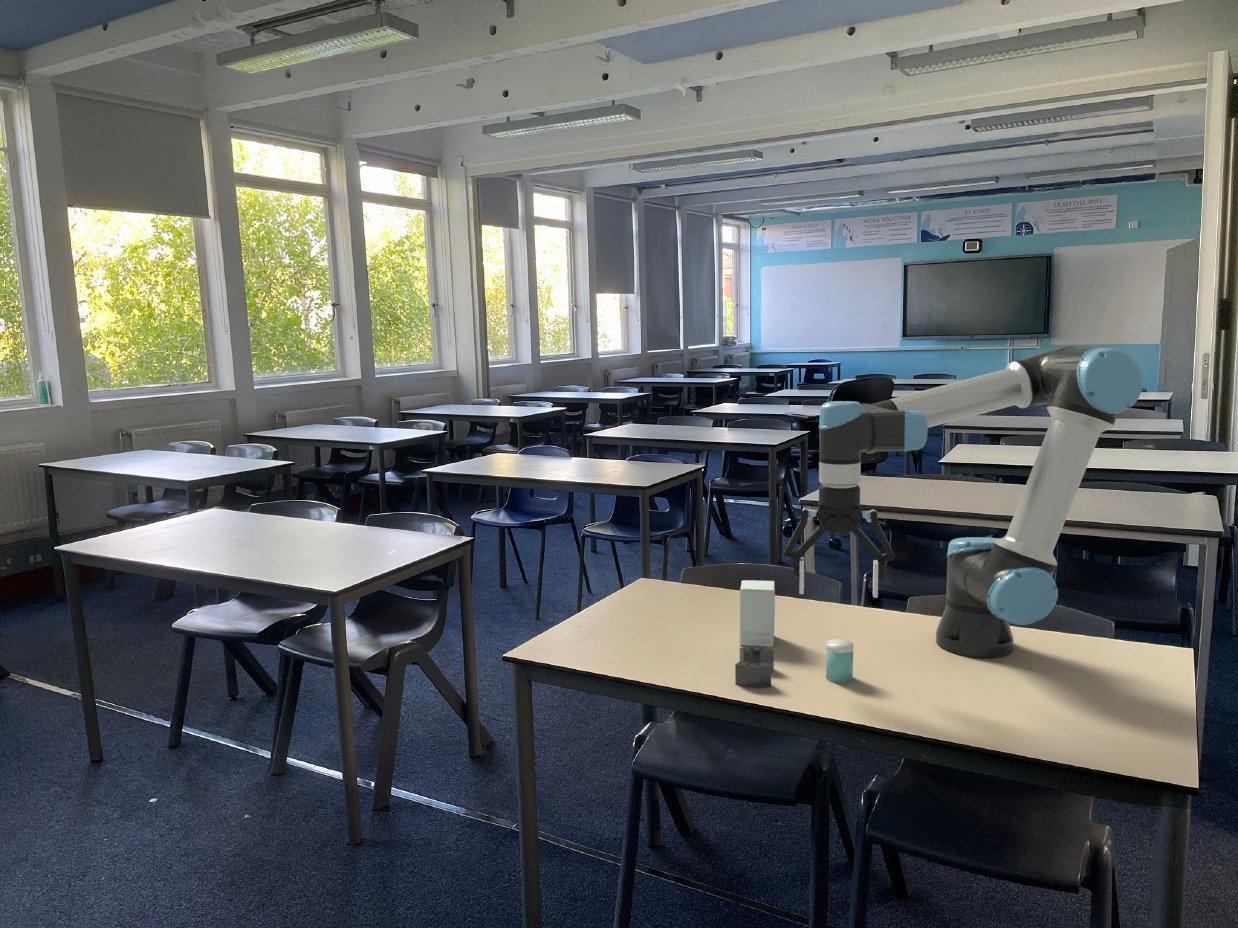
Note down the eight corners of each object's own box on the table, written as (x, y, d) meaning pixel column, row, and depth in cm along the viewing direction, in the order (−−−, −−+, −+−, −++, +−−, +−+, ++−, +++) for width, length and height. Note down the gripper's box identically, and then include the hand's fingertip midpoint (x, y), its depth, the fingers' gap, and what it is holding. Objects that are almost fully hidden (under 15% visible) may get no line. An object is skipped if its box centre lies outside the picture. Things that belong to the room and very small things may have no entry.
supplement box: (774, 647, 183) (774, 590, 181) (739, 645, 185) (739, 588, 183) (774, 635, 190) (775, 580, 189) (741, 633, 192) (741, 579, 190)
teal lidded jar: (852, 674, 168) (853, 639, 167) (853, 684, 163) (853, 648, 162) (826, 672, 169) (826, 638, 168) (826, 682, 165) (826, 647, 163)
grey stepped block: (773, 666, 173) (774, 647, 172) (770, 688, 162) (771, 668, 162) (740, 664, 174) (740, 645, 173) (734, 685, 164) (734, 665, 163)
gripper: (907, 481, 162) (905, 590, 165) (773, 479, 168) (773, 585, 171) (911, 489, 155) (908, 602, 158) (770, 486, 160) (770, 596, 164)
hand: (838, 593), depth 164 cm, fingers open, 13 cm apart
